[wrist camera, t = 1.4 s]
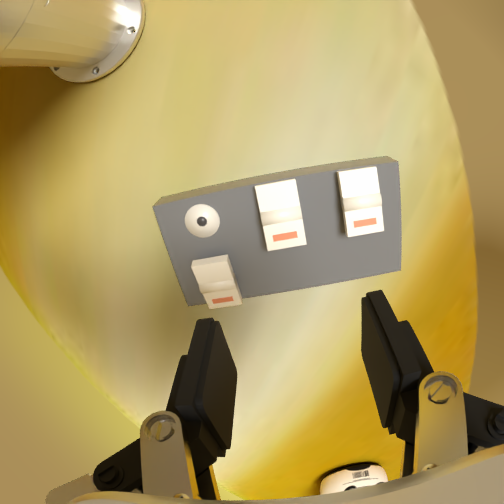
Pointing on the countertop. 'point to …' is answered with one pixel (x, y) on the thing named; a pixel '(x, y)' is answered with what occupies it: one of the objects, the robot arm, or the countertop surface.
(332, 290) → the countertop surface
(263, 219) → the rocker mid
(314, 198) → the switch panel
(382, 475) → the milk container
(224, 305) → the rocker far
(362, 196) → the rocker near
